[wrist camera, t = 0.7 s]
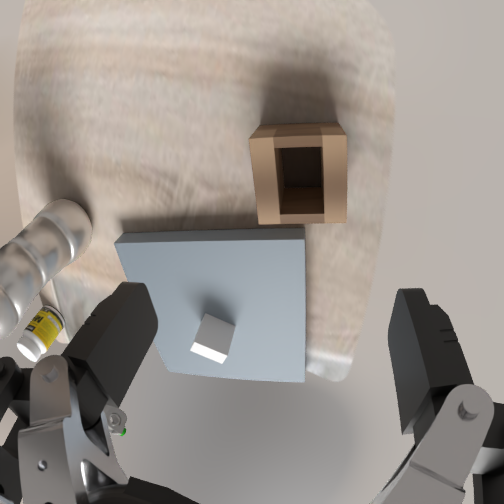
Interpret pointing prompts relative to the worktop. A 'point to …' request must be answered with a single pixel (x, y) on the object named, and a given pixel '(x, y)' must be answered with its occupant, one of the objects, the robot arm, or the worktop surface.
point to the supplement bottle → (40, 333)
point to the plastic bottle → (39, 257)
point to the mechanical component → (115, 420)
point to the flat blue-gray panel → (225, 299)
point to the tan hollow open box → (299, 199)
